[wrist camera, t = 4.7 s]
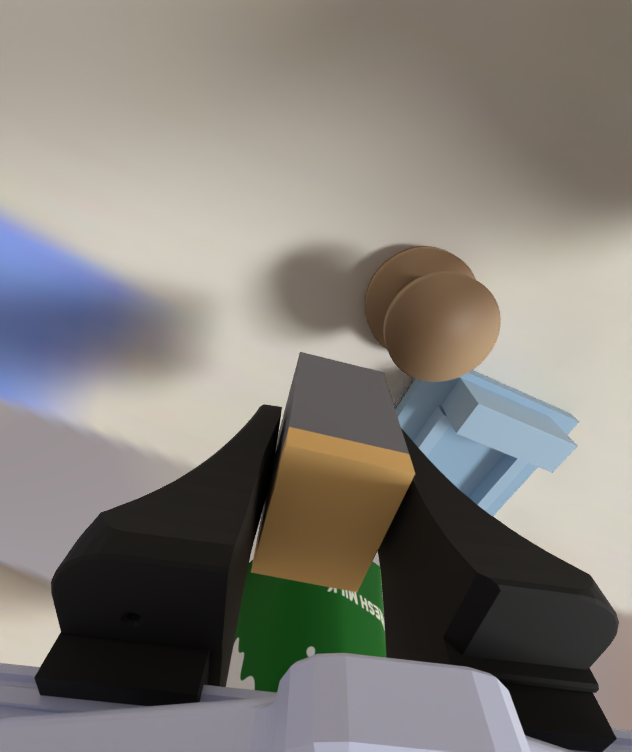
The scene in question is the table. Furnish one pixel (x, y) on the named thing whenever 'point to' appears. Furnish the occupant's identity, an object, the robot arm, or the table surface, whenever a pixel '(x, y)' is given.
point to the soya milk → (302, 626)
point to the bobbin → (432, 314)
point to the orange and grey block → (332, 476)
